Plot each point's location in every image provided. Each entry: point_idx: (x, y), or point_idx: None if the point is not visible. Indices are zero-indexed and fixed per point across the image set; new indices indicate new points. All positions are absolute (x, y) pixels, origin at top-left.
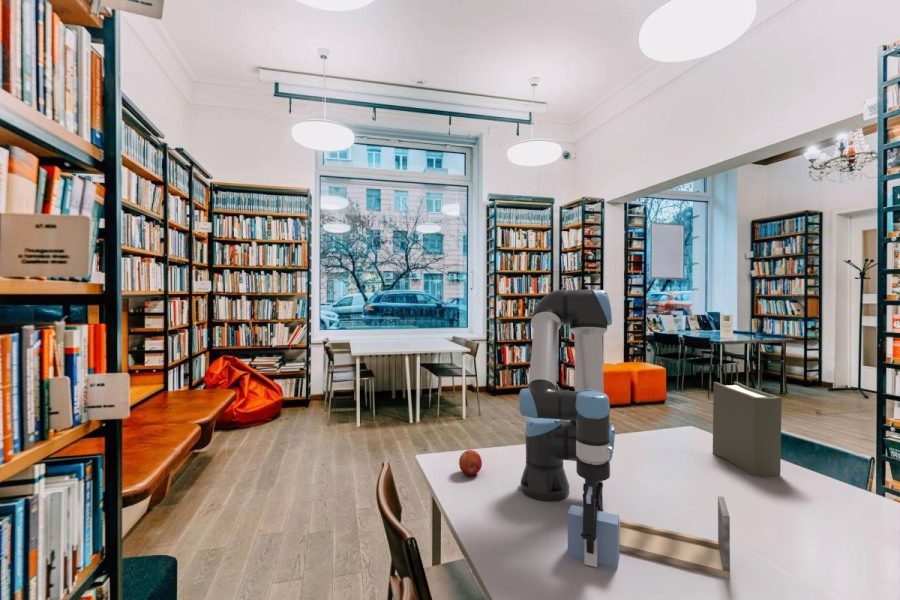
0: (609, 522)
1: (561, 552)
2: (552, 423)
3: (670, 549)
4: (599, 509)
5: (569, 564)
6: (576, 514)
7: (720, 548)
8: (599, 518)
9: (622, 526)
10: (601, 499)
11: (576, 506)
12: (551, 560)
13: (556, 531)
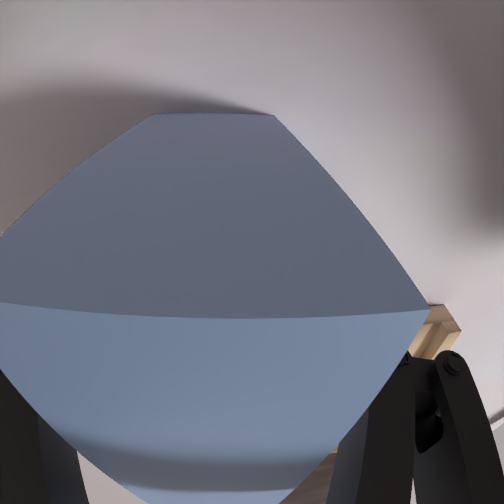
0: (148, 501)
1: (159, 73)
2: None
3: None
4: (335, 475)
5: (75, 146)
6: (49, 406)
7: (314, 471)
8: (156, 492)
9: (435, 330)
10: (416, 500)
11: (358, 392)
12: (63, 53)
13: (387, 22)
